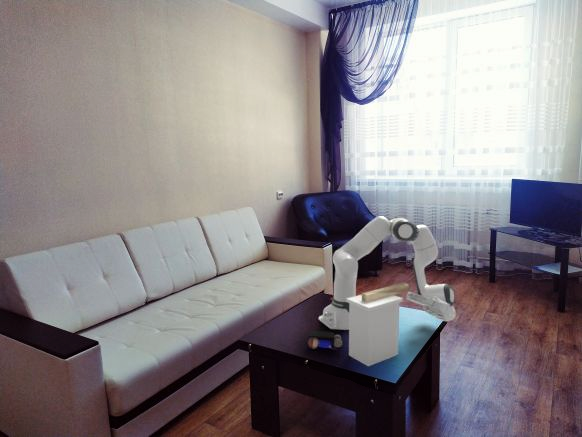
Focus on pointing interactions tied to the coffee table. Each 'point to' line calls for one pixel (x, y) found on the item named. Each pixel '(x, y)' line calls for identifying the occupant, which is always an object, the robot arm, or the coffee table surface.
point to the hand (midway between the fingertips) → (417, 296)
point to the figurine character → (315, 343)
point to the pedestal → (373, 328)
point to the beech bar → (385, 292)
